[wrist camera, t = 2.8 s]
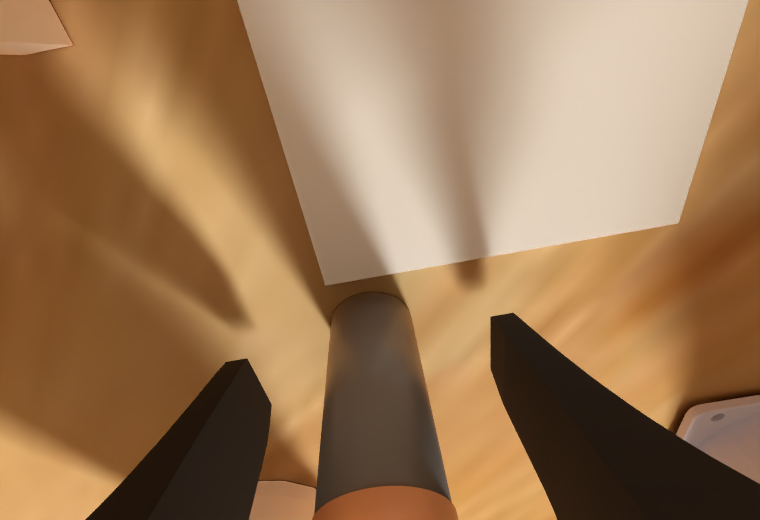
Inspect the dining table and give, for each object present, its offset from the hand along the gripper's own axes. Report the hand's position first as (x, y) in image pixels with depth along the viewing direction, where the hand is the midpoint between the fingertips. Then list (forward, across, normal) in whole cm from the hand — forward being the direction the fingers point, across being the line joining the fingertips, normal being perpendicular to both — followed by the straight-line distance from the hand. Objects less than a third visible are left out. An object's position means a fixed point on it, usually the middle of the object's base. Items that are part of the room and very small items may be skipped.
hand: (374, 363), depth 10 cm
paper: (+2, -4, -6) cm, 7 cm away
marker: (+2, 0, 0) cm, 2 cm away
